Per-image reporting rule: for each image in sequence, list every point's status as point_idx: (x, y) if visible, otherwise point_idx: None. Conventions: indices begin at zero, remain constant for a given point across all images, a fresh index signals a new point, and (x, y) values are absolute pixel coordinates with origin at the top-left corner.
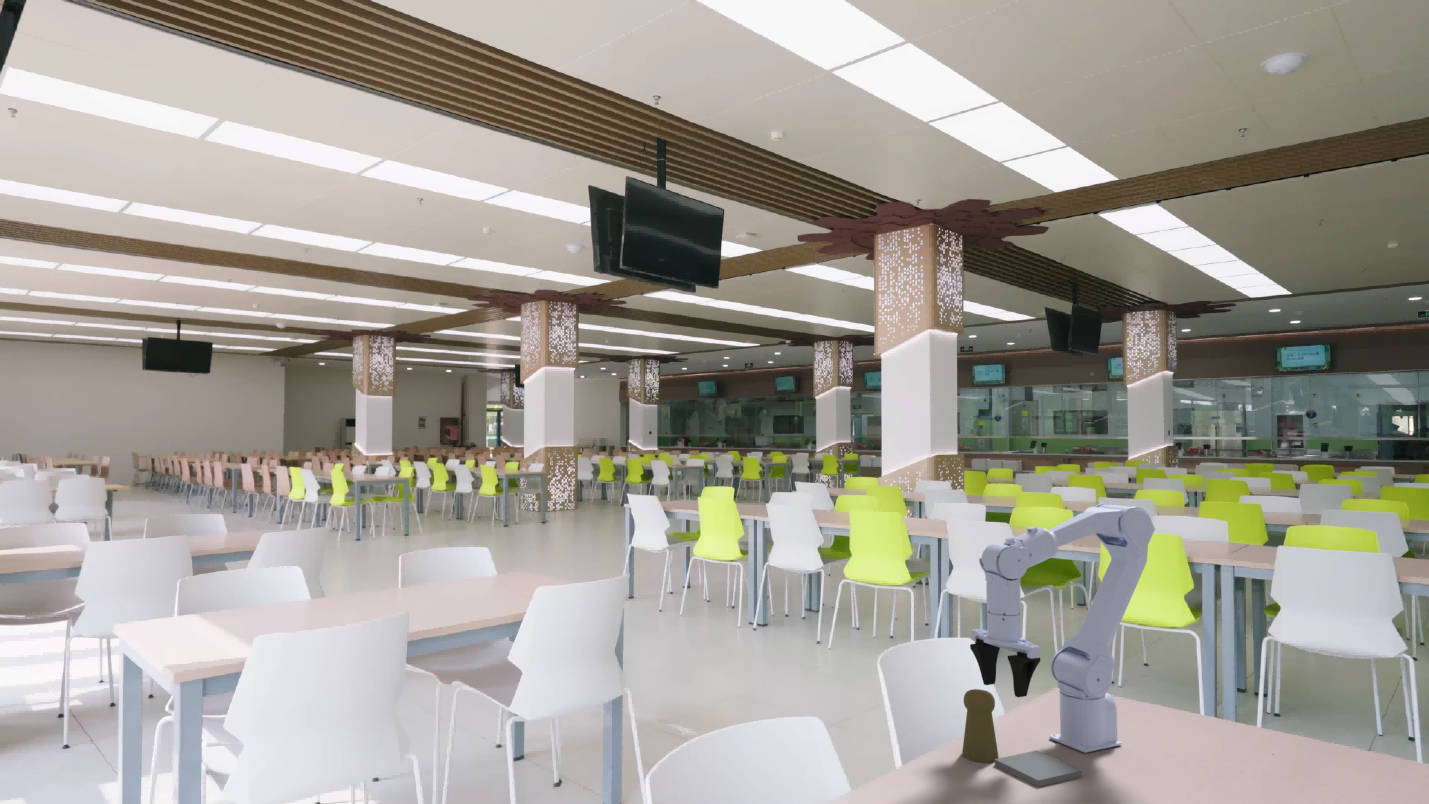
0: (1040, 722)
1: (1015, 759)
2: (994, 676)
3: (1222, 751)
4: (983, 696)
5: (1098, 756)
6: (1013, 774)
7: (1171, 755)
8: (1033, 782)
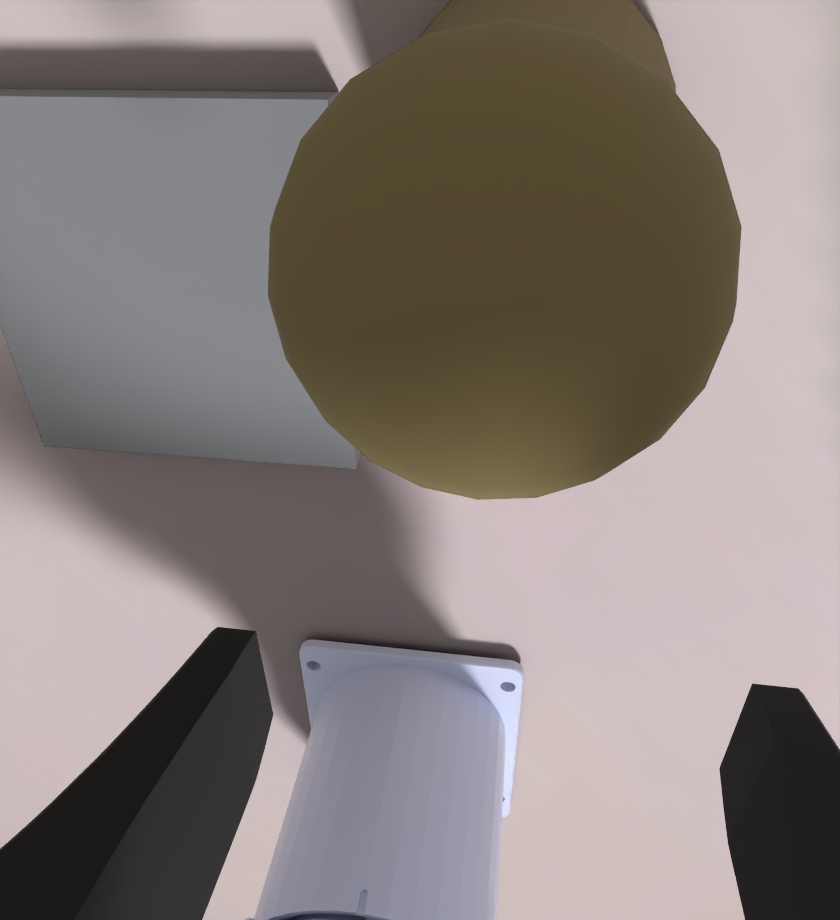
0: (708, 774)
1: None
2: (740, 857)
3: None
4: (310, 267)
5: (263, 654)
6: (158, 91)
7: None
8: None
